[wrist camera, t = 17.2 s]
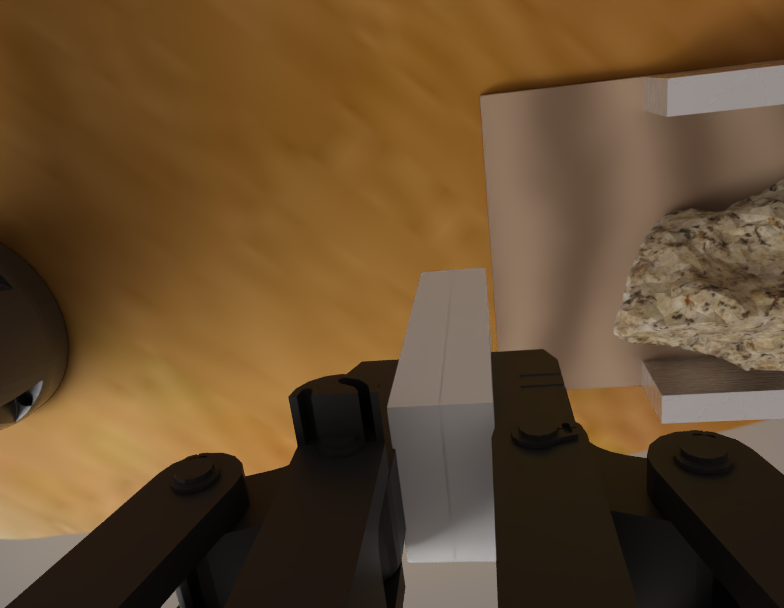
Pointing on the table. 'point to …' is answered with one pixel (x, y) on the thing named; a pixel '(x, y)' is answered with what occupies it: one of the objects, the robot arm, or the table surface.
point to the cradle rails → (710, 374)
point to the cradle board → (602, 208)
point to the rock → (712, 283)
